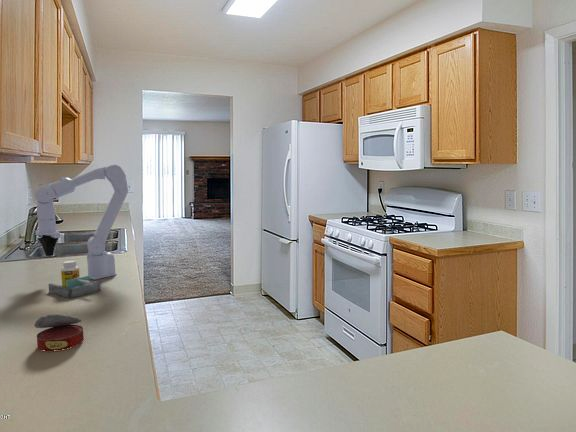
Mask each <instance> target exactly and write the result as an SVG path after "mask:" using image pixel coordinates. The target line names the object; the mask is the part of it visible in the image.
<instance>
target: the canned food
mask: <svg viewBox="0 0 576 432" xmlns="http://www.w3.org/2000/svg"><path fill="white" fill-rule="evenodd" d="M81 322H82V319H79V318H78V317H73V316H71V315H70V316H68V315H62V314H47V315H46V316H41V317H39V318H37V320H36V322H35V323H34V327H35V328H37V329H43V330H41V331H39V332H38V333H37V334H36V343H37V349H38V350H39V349H40V350H45V351H54V350H62V349H67V348H70V347H73V346H76V345H78V344H80V343H81V342H82V341H83V340H84V341H85V339H84V328H83V326H82V325H79V324H78V323H81ZM84 341H83V342H84ZM83 342H82V343H83ZM82 343H81V344H82ZM81 344H80V345H81ZM78 346H79V345H78ZM76 347H77V346H76ZM73 348H74V347H73ZM70 349H71V348H70ZM40 350H39V351H40ZM67 350H68V349H67ZM62 351H63V350H62Z"/></svg>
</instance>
